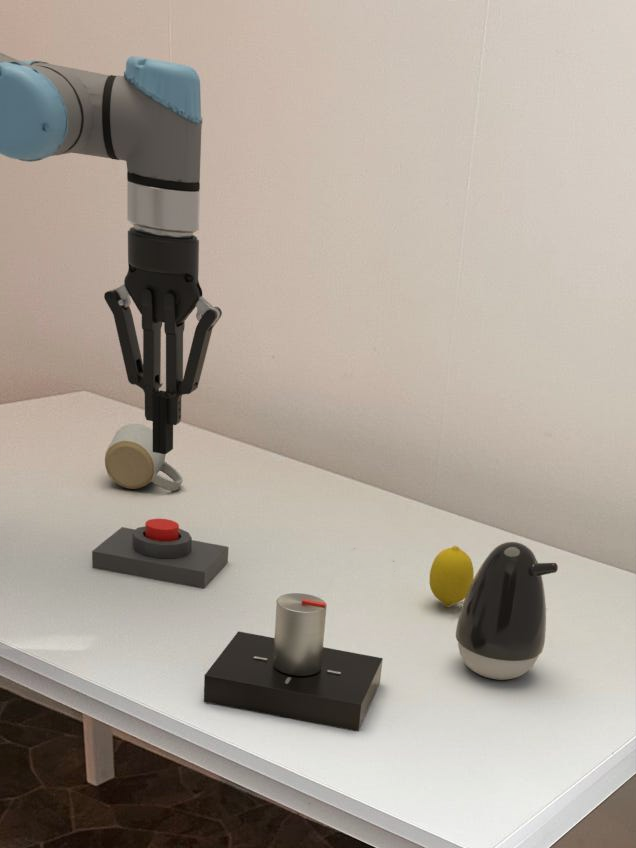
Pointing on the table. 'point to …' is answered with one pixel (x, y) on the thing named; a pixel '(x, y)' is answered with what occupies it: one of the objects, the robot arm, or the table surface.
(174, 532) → the power button
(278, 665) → the dial
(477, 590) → the pump dispenser
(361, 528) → the table surface
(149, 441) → the ceramic mug
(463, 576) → the lemon
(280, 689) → the dial panel
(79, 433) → the table surface
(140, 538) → the button block
